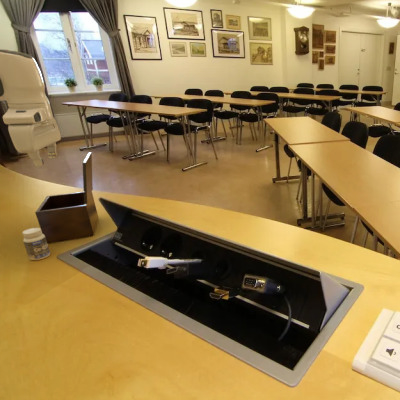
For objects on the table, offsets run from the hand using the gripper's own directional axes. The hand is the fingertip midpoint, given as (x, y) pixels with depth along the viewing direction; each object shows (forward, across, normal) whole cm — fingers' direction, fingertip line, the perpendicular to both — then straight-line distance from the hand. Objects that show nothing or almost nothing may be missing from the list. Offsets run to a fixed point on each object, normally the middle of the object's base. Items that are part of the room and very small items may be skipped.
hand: (46, 161), depth 95 cm
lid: (+7, -6, +7) cm, 12 cm away
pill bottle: (+25, +12, -4) cm, 28 cm away
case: (+25, -5, 0) cm, 26 cm away
